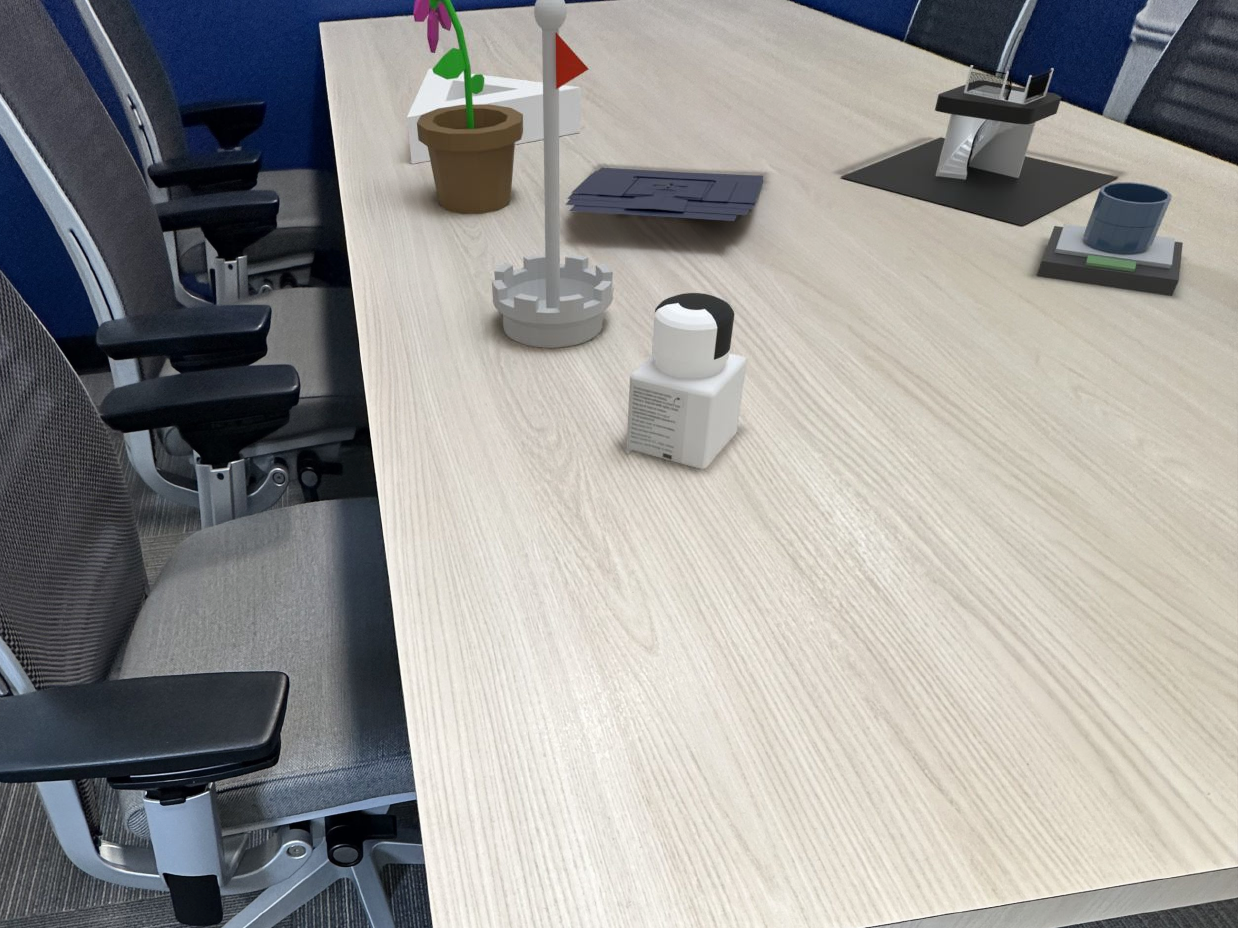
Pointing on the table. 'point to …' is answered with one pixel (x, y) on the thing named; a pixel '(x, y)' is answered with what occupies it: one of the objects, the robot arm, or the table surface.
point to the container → (687, 383)
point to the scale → (1112, 263)
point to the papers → (667, 193)
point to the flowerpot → (466, 129)
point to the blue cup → (1126, 217)
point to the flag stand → (553, 230)
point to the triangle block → (495, 92)
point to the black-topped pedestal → (987, 155)
